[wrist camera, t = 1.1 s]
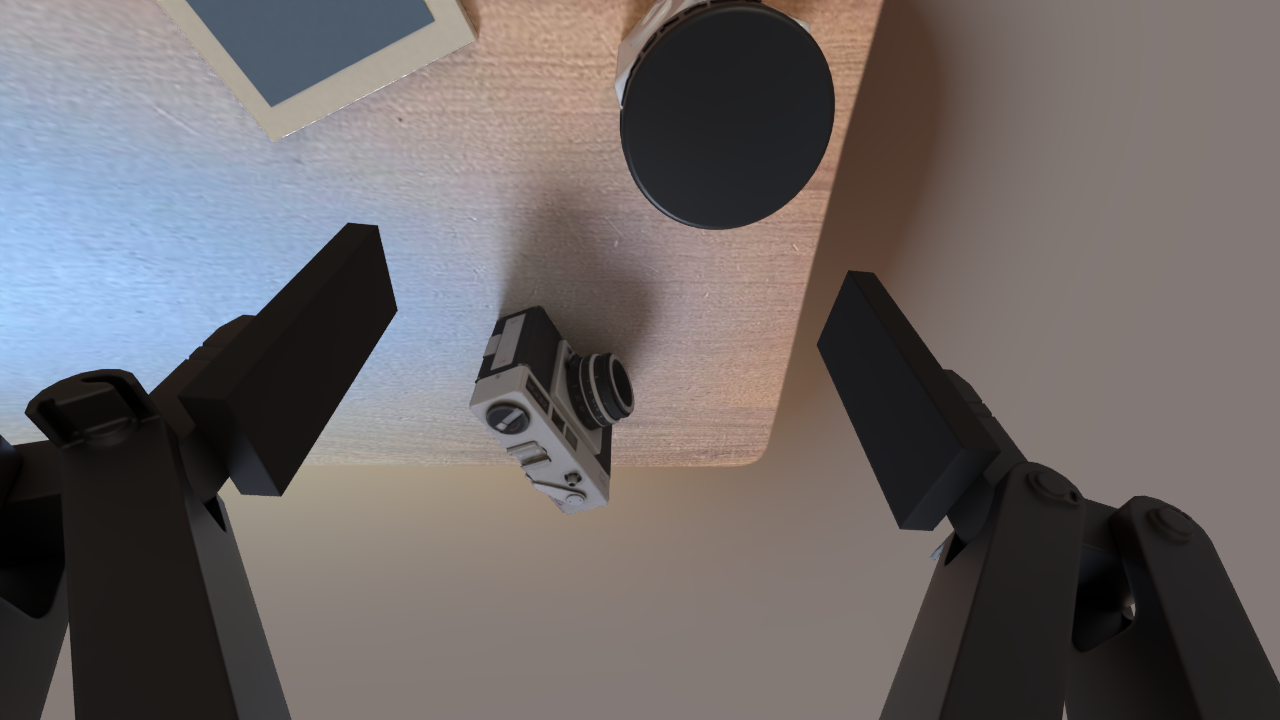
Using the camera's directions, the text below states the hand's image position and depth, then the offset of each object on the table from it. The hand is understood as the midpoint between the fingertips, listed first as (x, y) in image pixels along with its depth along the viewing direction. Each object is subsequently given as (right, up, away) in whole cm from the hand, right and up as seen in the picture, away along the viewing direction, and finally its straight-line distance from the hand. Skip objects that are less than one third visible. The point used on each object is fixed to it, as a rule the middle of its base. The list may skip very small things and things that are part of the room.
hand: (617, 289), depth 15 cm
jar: (+4, +14, +14) cm, 20 cm away
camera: (-5, -3, +28) cm, 29 cm away
